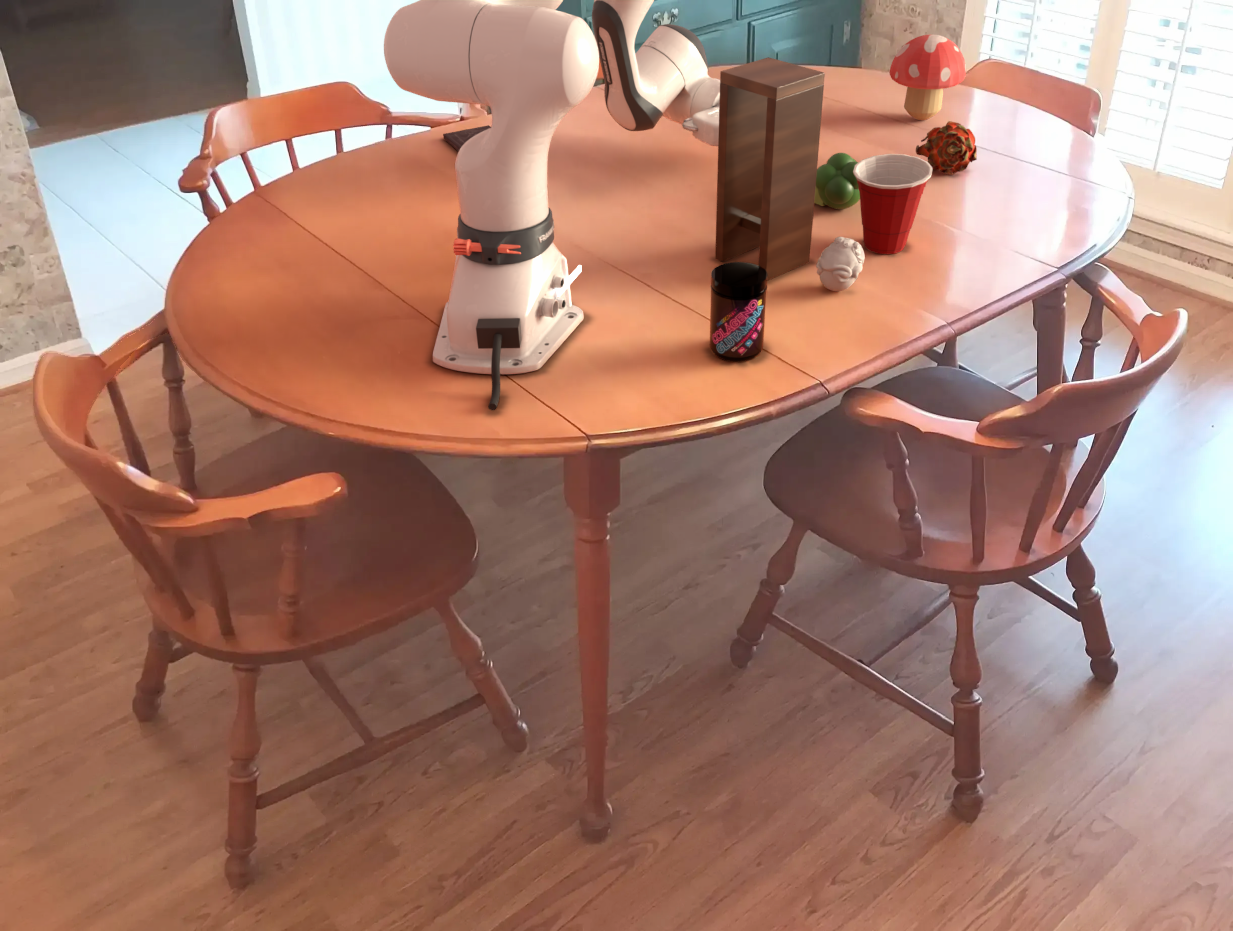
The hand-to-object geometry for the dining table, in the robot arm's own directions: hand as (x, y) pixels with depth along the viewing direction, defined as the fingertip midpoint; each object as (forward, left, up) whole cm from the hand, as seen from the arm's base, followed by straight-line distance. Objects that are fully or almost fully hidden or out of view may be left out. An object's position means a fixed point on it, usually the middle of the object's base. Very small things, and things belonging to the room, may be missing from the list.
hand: (782, 129), depth 174 cm
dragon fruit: (+10, -27, -9) cm, 30 cm away
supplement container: (-55, +1, -9) cm, 56 cm away
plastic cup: (-22, -17, -9) cm, 29 cm away
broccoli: (-5, -6, -9) cm, 12 cm away
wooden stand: (-29, 0, -9) cm, 30 cm away
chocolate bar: (+10, +53, -9) cm, 55 cm away
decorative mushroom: (+35, -24, -9) cm, 43 cm away
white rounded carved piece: (-36, -11, -9) cm, 39 cm away
